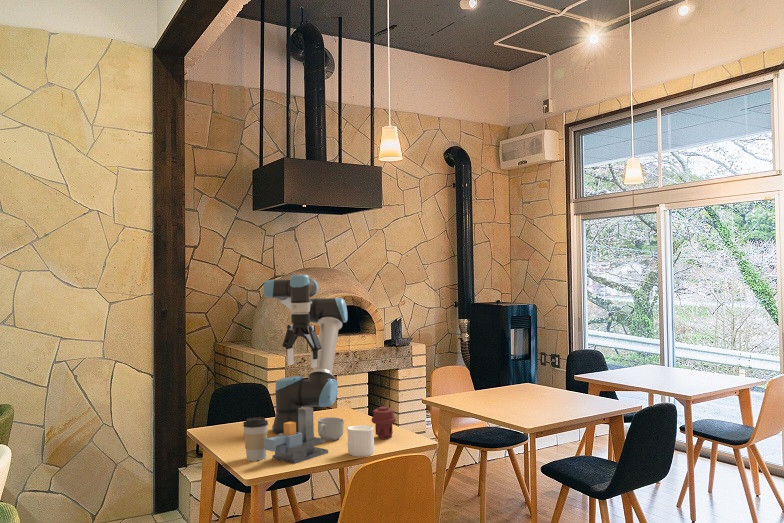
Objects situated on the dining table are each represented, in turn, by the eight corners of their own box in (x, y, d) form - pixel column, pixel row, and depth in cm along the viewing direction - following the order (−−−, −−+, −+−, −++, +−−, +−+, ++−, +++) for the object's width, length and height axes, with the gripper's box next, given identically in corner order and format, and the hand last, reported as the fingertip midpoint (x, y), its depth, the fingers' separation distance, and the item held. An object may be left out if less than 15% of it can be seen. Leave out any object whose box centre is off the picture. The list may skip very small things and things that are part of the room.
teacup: (330, 434, 271) (329, 415, 271) (349, 437, 264) (349, 418, 264) (307, 441, 259) (307, 422, 259) (327, 445, 253) (327, 425, 253)
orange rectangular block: (290, 453, 237) (290, 421, 238) (296, 455, 235) (296, 422, 236) (284, 455, 235) (283, 423, 235) (290, 457, 233) (289, 424, 233)
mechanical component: (398, 435, 267) (393, 441, 257) (375, 434, 269) (369, 440, 259) (397, 405, 267) (392, 410, 257) (374, 405, 269) (368, 409, 259)
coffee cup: (245, 455, 241) (244, 415, 241) (270, 454, 241) (269, 414, 242) (242, 462, 232) (241, 421, 232) (267, 461, 232) (266, 420, 233)
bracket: (263, 455, 229) (263, 438, 229) (291, 447, 239) (290, 430, 240) (275, 458, 225) (274, 440, 226) (302, 450, 235) (302, 433, 236)
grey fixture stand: (272, 458, 236) (271, 411, 236) (306, 448, 249) (305, 404, 250) (294, 463, 228) (293, 415, 229) (328, 452, 242) (327, 407, 242)
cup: (377, 455, 237) (376, 429, 237) (351, 458, 234) (350, 431, 234) (371, 449, 246) (370, 423, 246) (345, 451, 243) (345, 426, 243)
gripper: (272, 313, 261) (274, 365, 261) (315, 314, 246) (317, 369, 246) (286, 311, 267) (288, 362, 267) (329, 313, 252) (331, 367, 252)
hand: (302, 366), depth 256 cm, fingers open, 13 cm apart
